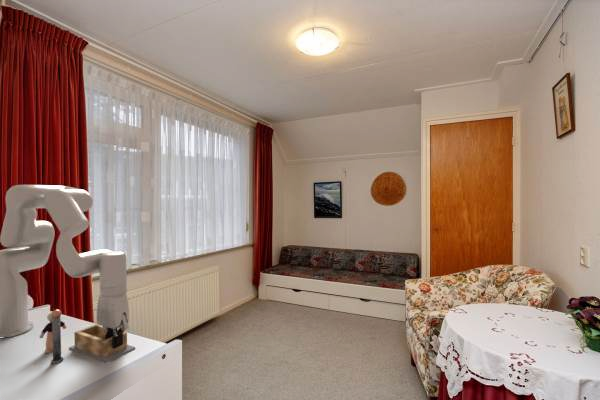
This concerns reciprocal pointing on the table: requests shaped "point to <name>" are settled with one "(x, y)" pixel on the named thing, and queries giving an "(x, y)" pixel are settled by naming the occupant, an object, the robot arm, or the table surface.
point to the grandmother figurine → (50, 334)
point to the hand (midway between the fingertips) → (114, 345)
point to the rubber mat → (106, 359)
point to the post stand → (56, 337)
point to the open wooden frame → (97, 341)
